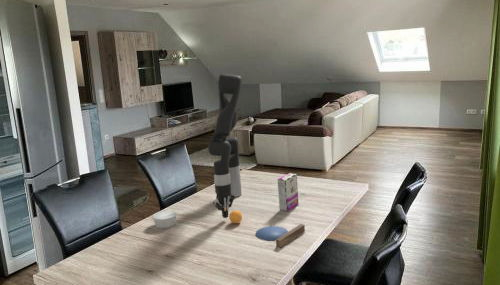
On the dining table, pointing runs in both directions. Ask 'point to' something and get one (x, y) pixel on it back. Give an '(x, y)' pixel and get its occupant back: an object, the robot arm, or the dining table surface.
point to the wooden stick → (290, 235)
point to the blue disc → (270, 233)
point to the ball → (235, 216)
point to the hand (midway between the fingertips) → (225, 217)
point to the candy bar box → (288, 192)
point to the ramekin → (165, 219)
